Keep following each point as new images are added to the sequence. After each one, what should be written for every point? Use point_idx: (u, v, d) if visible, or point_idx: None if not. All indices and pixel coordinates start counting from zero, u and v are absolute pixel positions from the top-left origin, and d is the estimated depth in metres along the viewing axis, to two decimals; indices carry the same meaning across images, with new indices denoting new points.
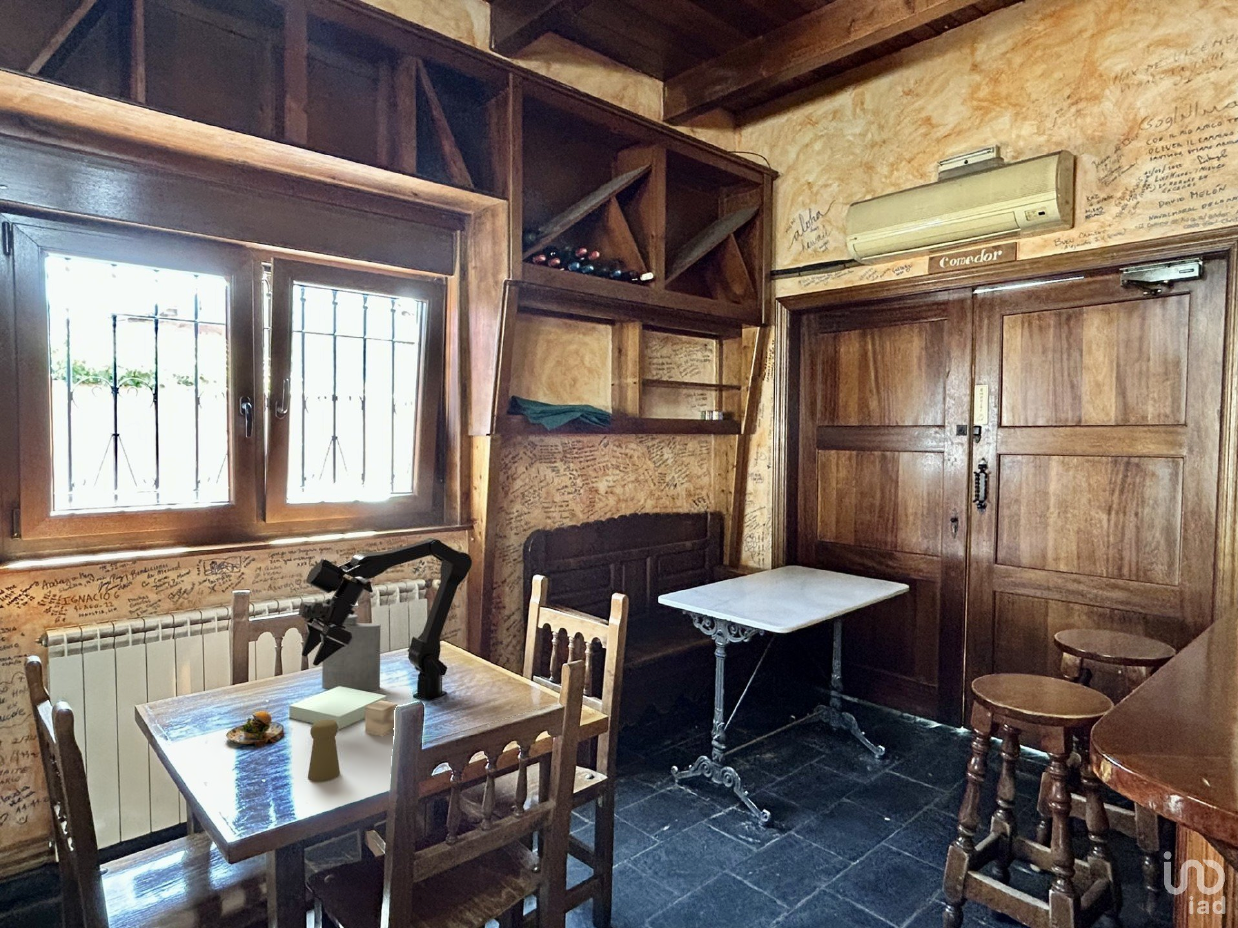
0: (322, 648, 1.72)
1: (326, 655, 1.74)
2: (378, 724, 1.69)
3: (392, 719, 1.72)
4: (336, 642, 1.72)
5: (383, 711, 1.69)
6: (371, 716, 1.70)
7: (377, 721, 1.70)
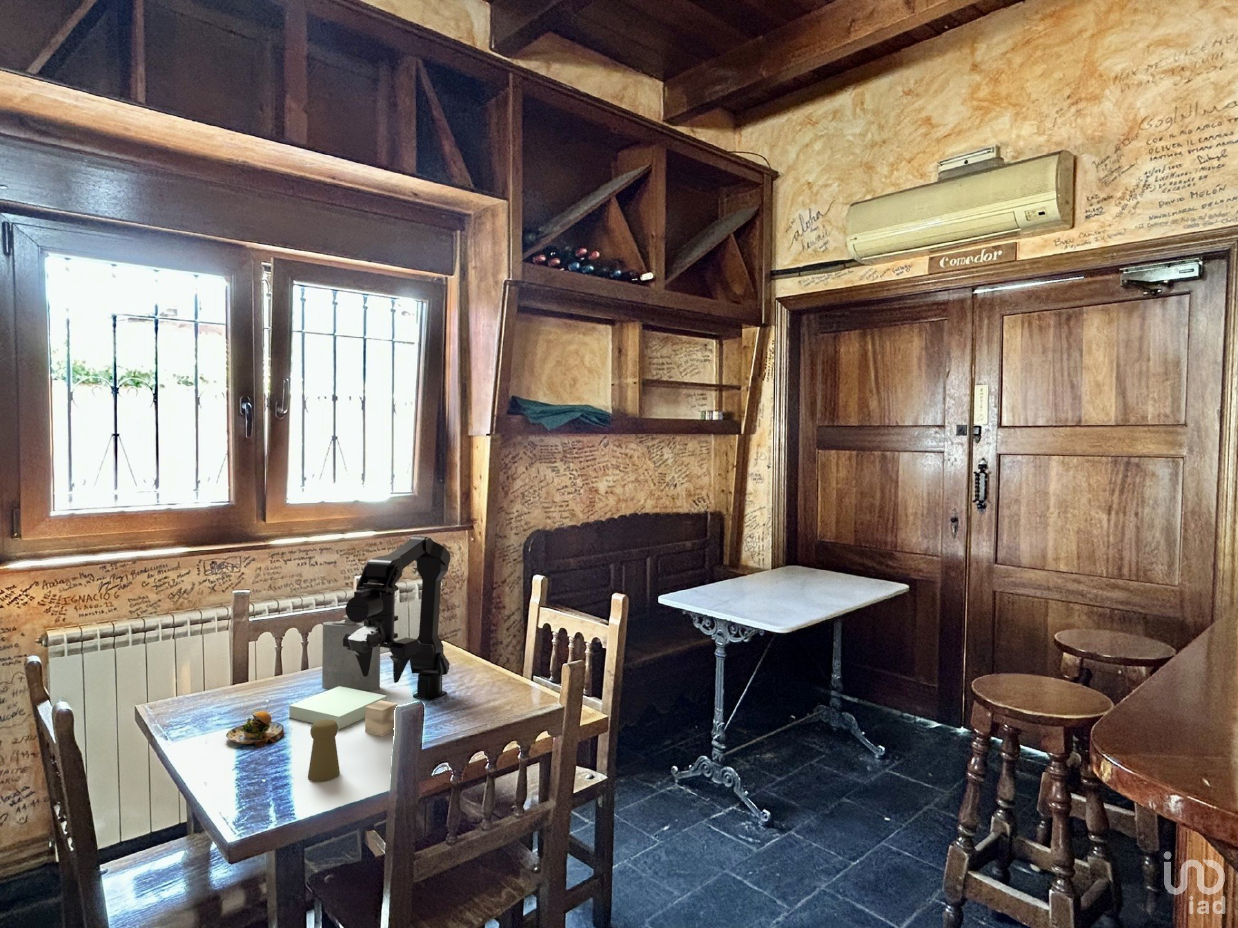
0: (398, 666, 1.69)
1: (402, 668, 1.71)
2: (378, 724, 1.69)
3: (392, 719, 1.72)
4: (409, 654, 1.69)
5: (383, 711, 1.69)
6: (371, 716, 1.70)
7: (377, 721, 1.70)
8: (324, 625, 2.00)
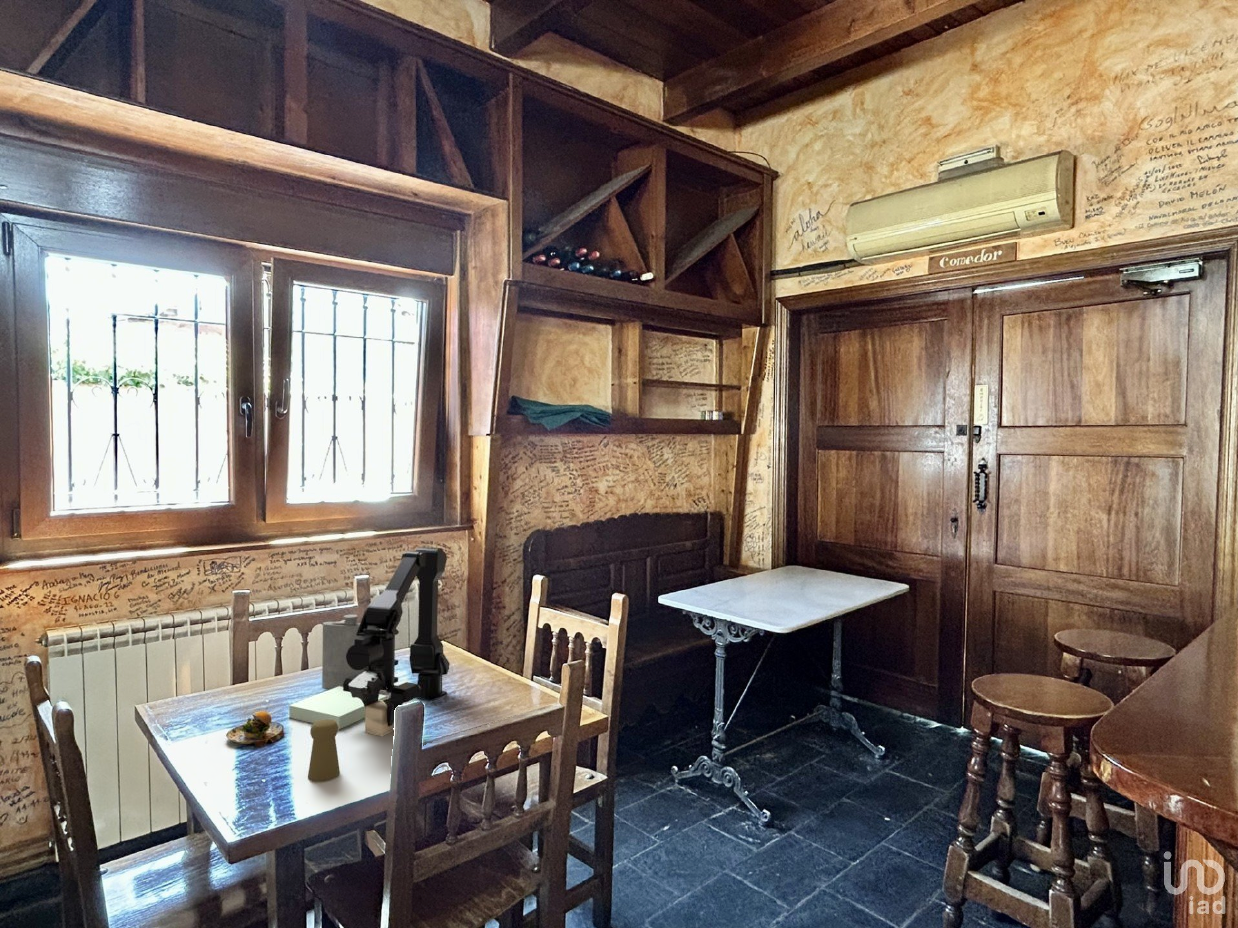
0: (392, 710, 1.70)
1: None
2: (378, 723, 1.69)
3: None
4: None
5: (383, 711, 1.69)
6: (371, 715, 1.70)
7: (377, 720, 1.70)
8: (324, 625, 2.00)
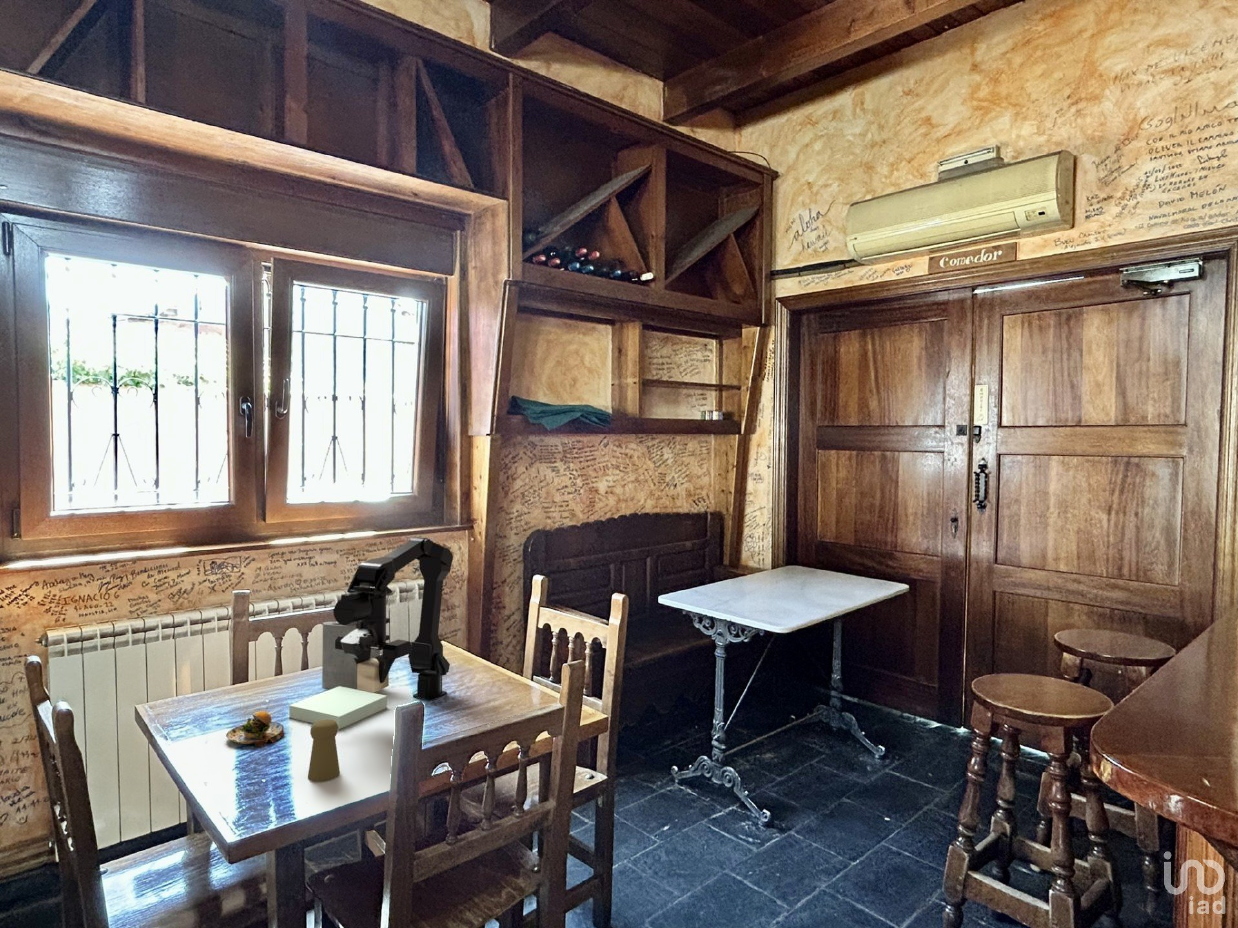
0: (384, 667, 1.72)
1: (388, 668, 1.74)
2: (370, 680, 1.71)
3: None
4: None
5: (374, 667, 1.71)
6: (363, 672, 1.72)
7: (369, 677, 1.71)
8: (324, 625, 2.00)
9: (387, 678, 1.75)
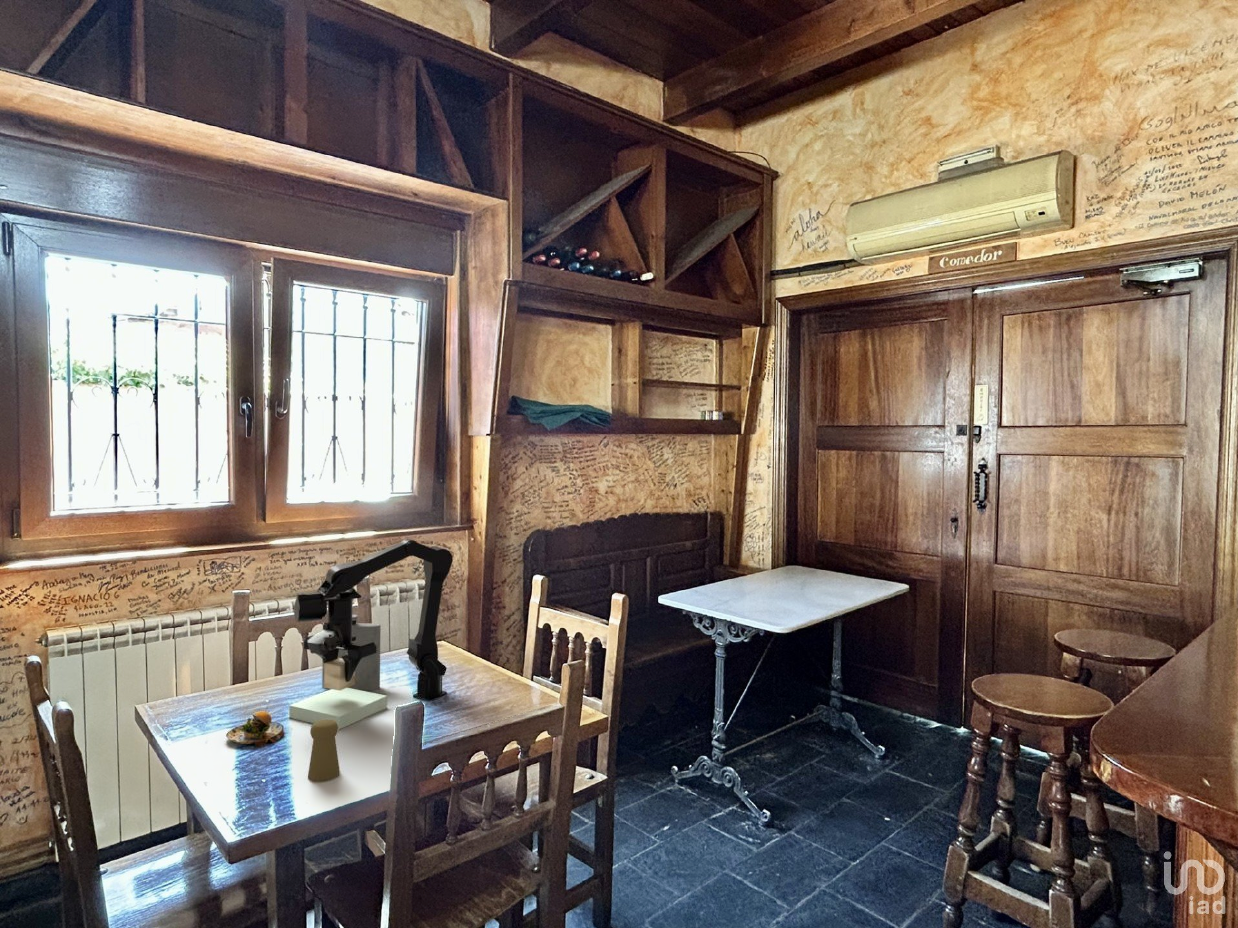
0: (349, 666, 1.80)
1: (353, 668, 1.82)
2: (336, 679, 1.80)
3: None
4: None
5: (340, 667, 1.80)
6: (330, 671, 1.81)
7: (335, 676, 1.80)
8: None
9: (353, 677, 1.84)
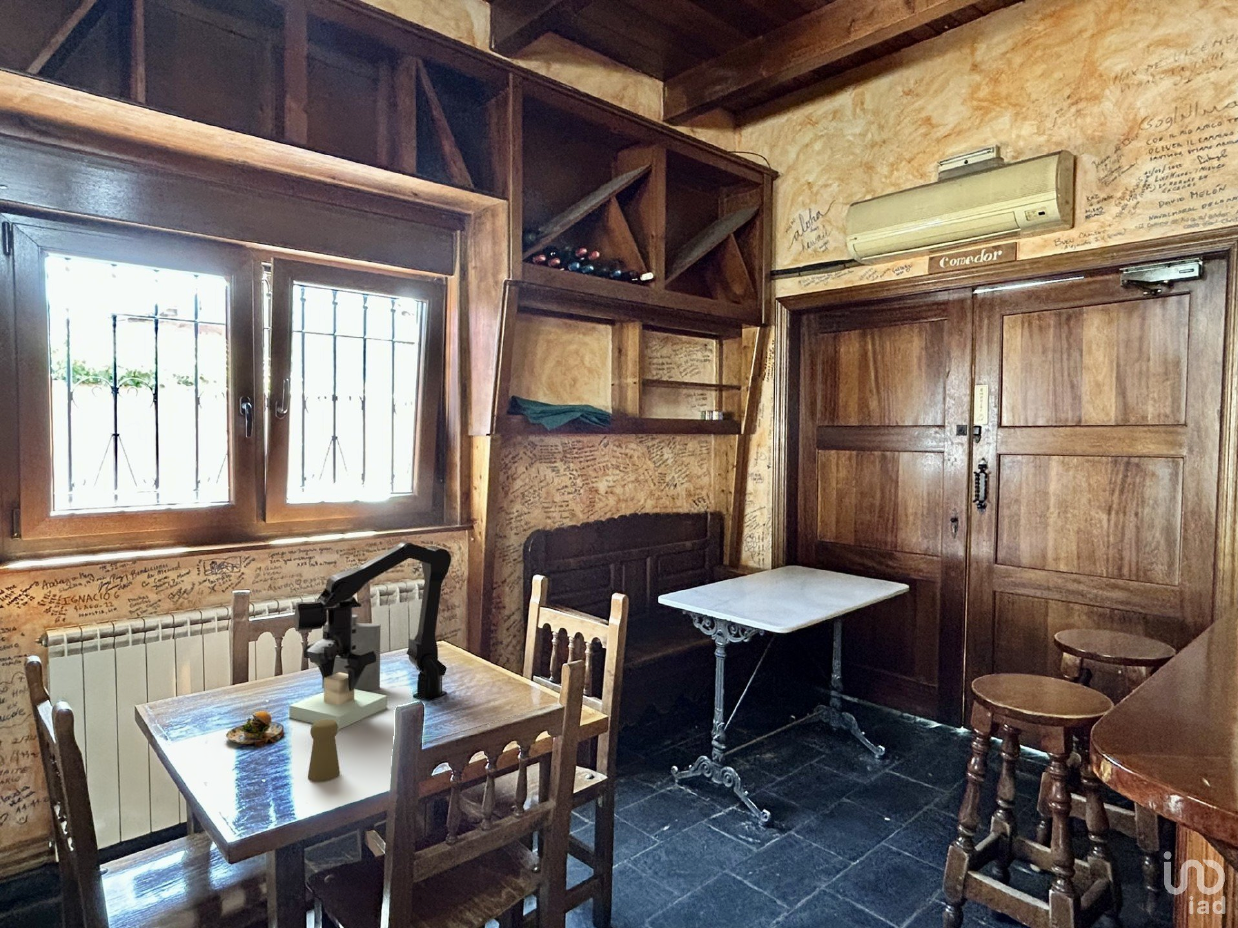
0: (352, 676, 1.80)
1: (357, 677, 1.82)
2: (335, 693, 1.80)
3: None
4: None
5: (340, 681, 1.80)
6: (329, 686, 1.81)
7: (334, 691, 1.80)
8: None
9: (353, 691, 1.84)
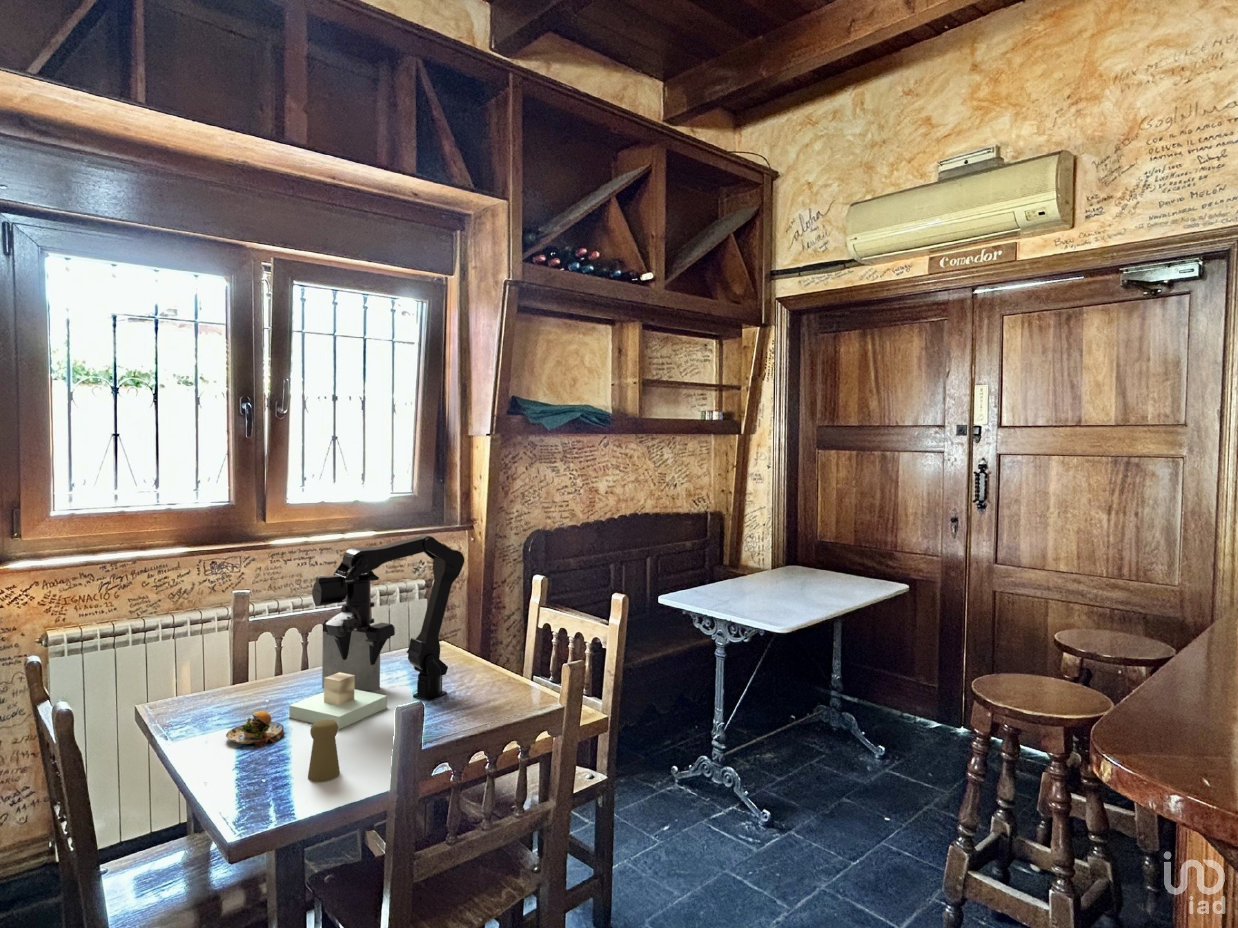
0: (374, 649, 1.79)
1: (378, 651, 1.81)
2: (335, 693, 1.80)
3: (349, 689, 1.83)
4: (384, 638, 1.79)
5: (340, 681, 1.80)
6: (329, 686, 1.81)
7: (334, 691, 1.80)
8: None
9: (353, 691, 1.84)
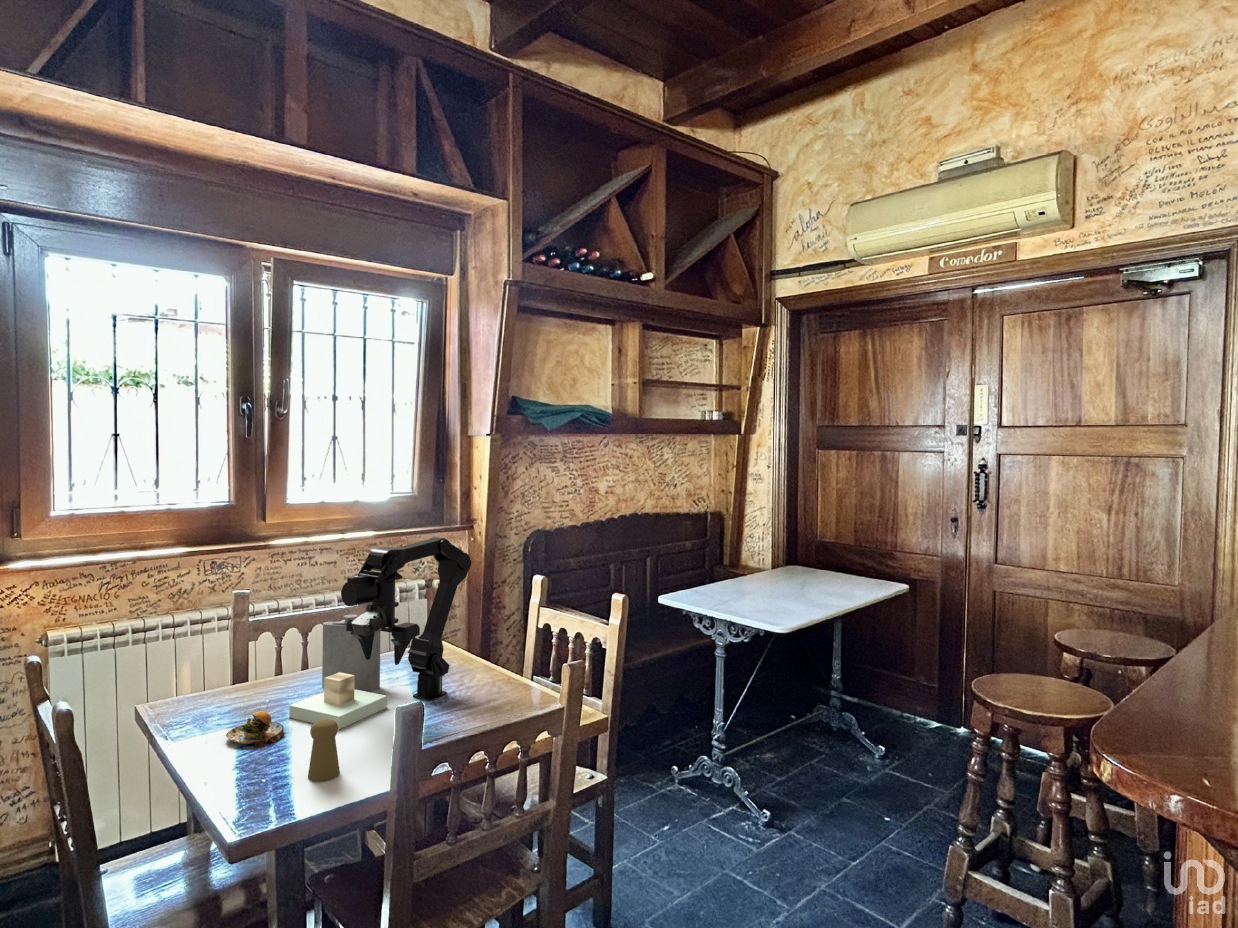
0: (399, 649, 1.79)
1: (402, 651, 1.81)
2: (335, 693, 1.80)
3: (349, 689, 1.83)
4: (409, 638, 1.79)
5: (340, 681, 1.80)
6: (329, 686, 1.81)
7: (334, 691, 1.80)
8: (324, 625, 2.00)
9: (353, 691, 1.84)
